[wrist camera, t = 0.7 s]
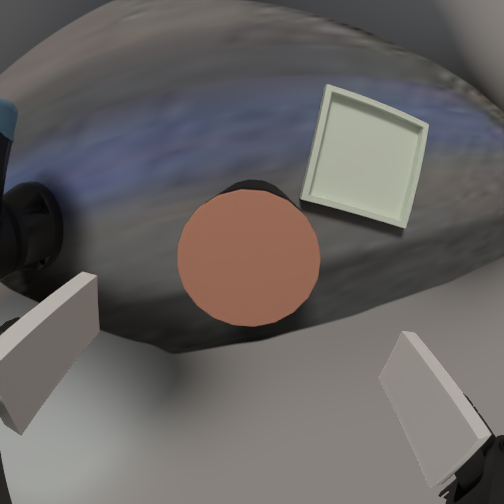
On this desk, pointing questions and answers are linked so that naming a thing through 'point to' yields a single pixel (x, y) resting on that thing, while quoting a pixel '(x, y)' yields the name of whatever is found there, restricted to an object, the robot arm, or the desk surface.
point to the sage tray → (364, 157)
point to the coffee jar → (249, 255)
